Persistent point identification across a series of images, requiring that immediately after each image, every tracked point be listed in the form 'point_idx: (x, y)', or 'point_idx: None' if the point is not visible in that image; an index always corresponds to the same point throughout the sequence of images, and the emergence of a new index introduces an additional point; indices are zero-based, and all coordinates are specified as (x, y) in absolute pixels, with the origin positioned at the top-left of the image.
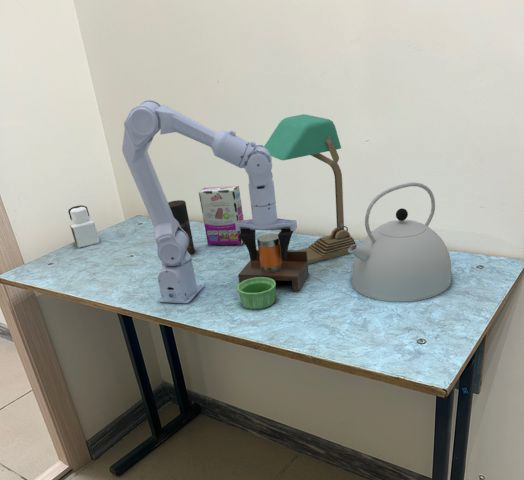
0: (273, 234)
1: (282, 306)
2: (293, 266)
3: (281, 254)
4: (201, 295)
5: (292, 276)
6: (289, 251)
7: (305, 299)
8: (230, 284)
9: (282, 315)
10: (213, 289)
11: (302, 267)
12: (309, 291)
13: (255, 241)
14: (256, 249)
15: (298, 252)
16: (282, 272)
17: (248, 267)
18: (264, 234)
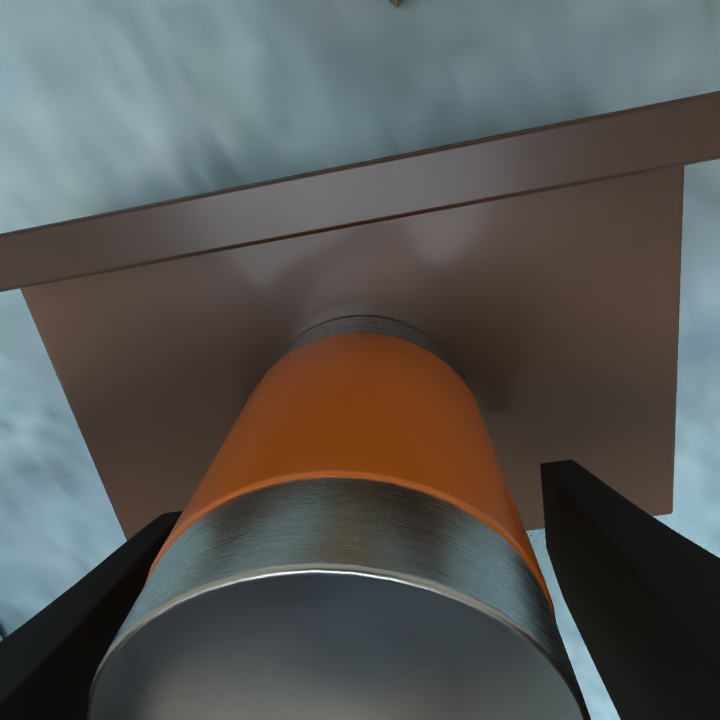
0: (363, 626)
1: (569, 616)
2: (568, 326)
3: (583, 634)
4: (17, 601)
5: None
6: (499, 194)
7: (691, 520)
8: (69, 442)
9: (604, 688)
10: (20, 526)
11: (678, 331)
12: (692, 415)
13: (63, 645)
14: (143, 558)
15: (639, 171)
16: (506, 473)
17: (127, 441)
18: (127, 644)
